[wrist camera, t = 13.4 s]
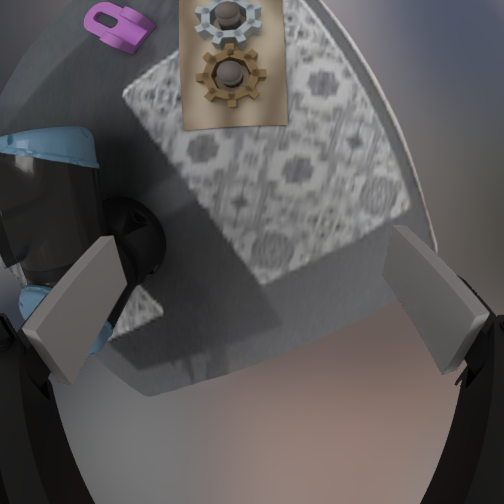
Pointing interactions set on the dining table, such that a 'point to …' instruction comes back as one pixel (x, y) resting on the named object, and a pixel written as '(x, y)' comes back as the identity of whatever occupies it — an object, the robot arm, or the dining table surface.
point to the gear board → (267, 61)
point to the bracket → (119, 26)
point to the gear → (229, 36)
